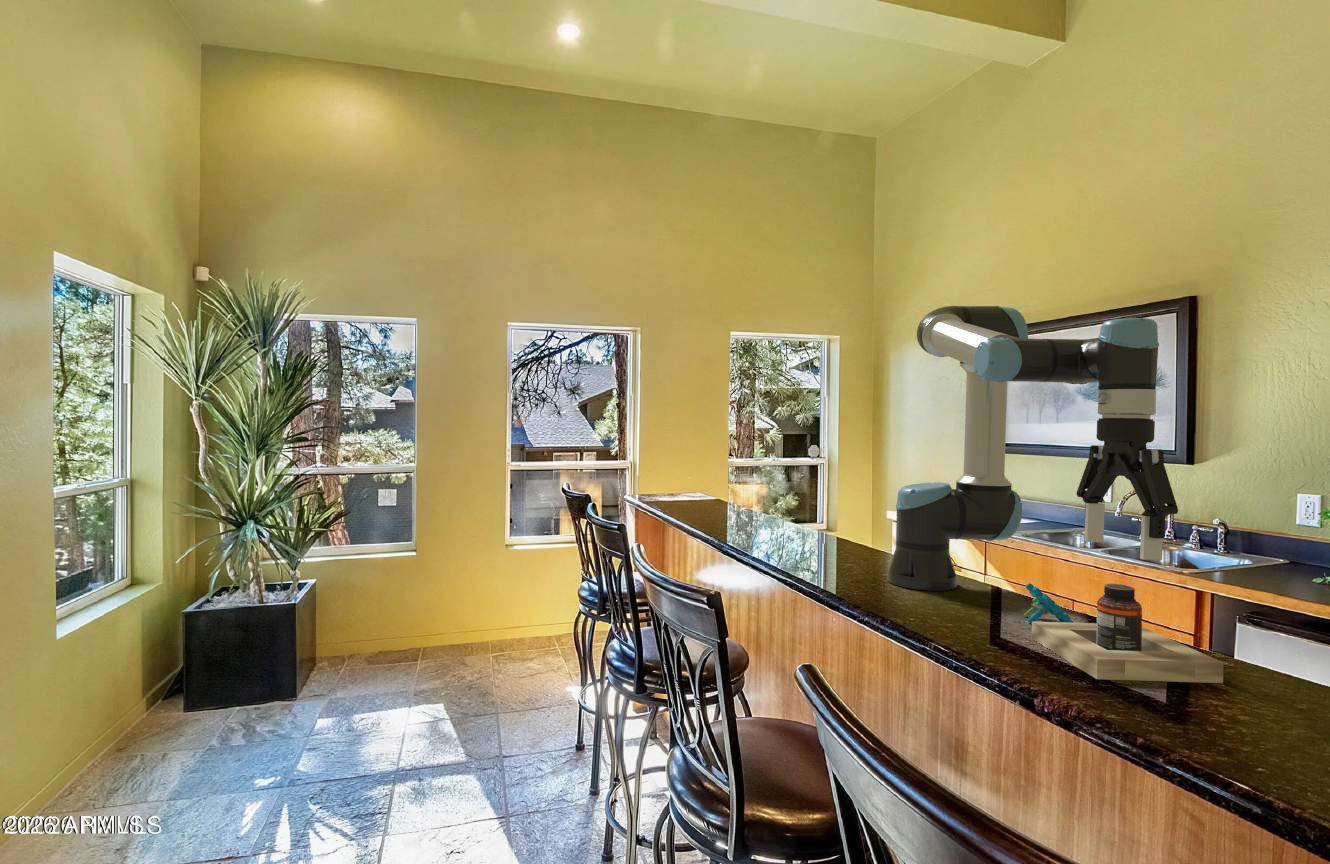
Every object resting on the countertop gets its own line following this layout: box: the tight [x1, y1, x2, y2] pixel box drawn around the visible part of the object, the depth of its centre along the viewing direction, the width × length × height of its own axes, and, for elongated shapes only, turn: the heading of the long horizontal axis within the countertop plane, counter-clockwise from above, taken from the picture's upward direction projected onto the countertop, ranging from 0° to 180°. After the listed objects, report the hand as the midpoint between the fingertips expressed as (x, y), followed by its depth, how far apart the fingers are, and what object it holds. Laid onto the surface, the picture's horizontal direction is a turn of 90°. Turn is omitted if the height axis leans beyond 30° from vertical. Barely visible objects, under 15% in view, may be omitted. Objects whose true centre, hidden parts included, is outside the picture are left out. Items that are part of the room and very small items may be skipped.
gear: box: [1023, 582, 1075, 625], centre depth 122 cm, size 11×6×10 cm
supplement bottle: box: [1096, 583, 1143, 651], centre depth 104 cm, size 6×6×11 cm
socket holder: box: [1031, 621, 1225, 684], centre depth 104 cm, size 18×18×3 cm
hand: (1120, 550), depth 104 cm, fingers open, 13 cm apart
